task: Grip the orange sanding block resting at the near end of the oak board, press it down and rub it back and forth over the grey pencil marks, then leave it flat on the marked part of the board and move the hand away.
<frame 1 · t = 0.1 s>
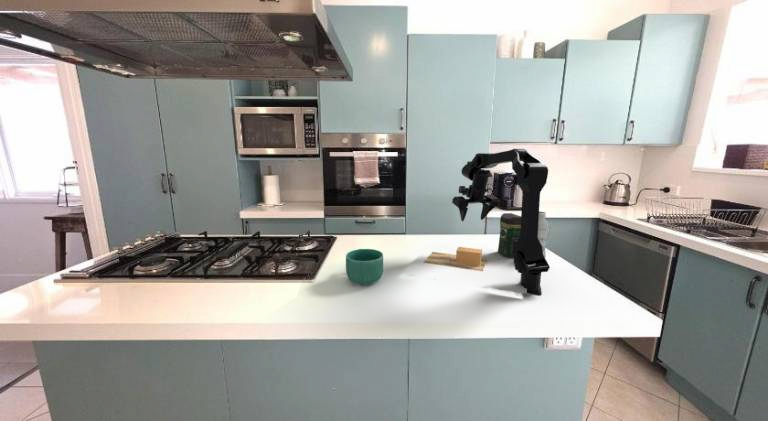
hand: (472, 220, 127), 15 cm above the countertop, tool pointing down, fingers open, 9 cm apart
coffee jar: (509, 258, 127), on the countertop
oak board: (455, 264, 119), on the countertop
plastic bottle: (535, 261, 123), on the countertop
mug: (364, 279, 105), on the countertop
sanding block: (468, 262, 117), point 1 cm above the countertop, touching oak board
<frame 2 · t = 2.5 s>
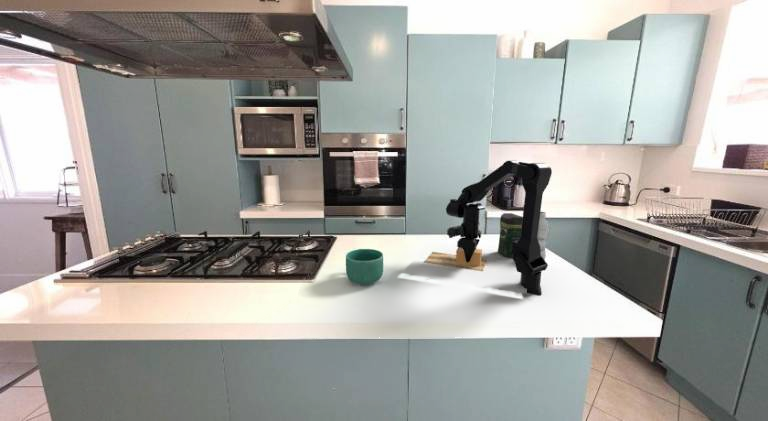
hand: (468, 259, 117), 3 cm above the countertop, tool pointing down, fingers closed on sanding block, 5 cm apart
sanding block: (468, 262, 117), point 1 cm above the countertop, touching gripper, oak board
everything else where it was.
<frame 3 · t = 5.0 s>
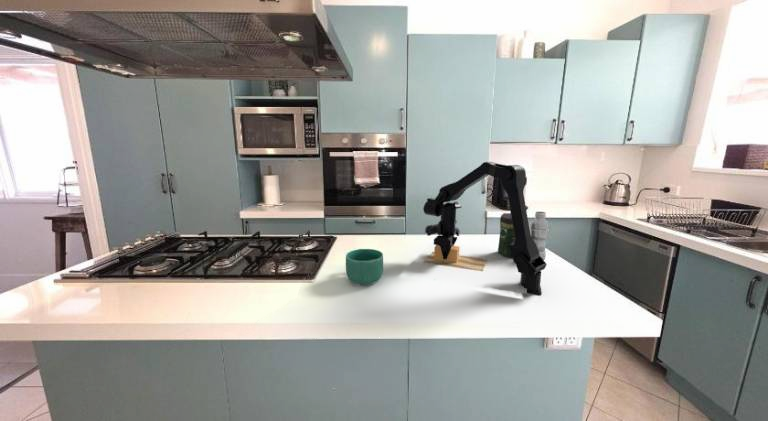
hand: (446, 257, 120), 2 cm above the countertop, tool pointing down, fingers closed on sanding block, 5 cm apart
sanding block: (446, 258, 120), point 2 cm above the countertop, touching gripper
everything else where it was.
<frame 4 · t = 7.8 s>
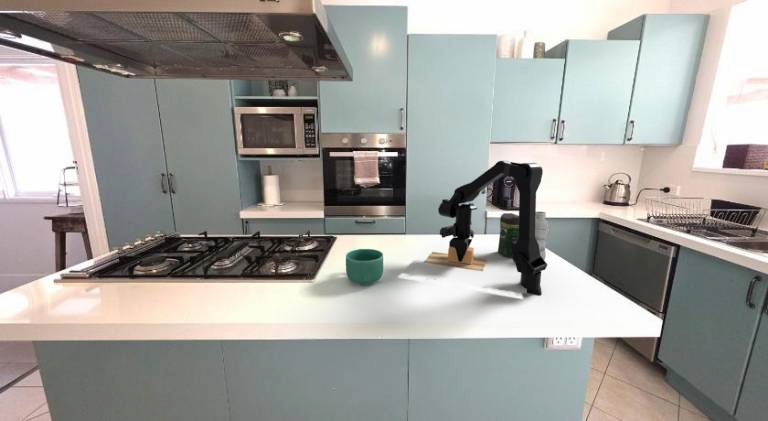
hand: (461, 259, 118), 2 cm above the countertop, tool pointing down, fingers closed on sanding block, 5 cm apart
sanding block: (460, 260, 118), point 2 cm above the countertop, touching gripper
everything else where it was.
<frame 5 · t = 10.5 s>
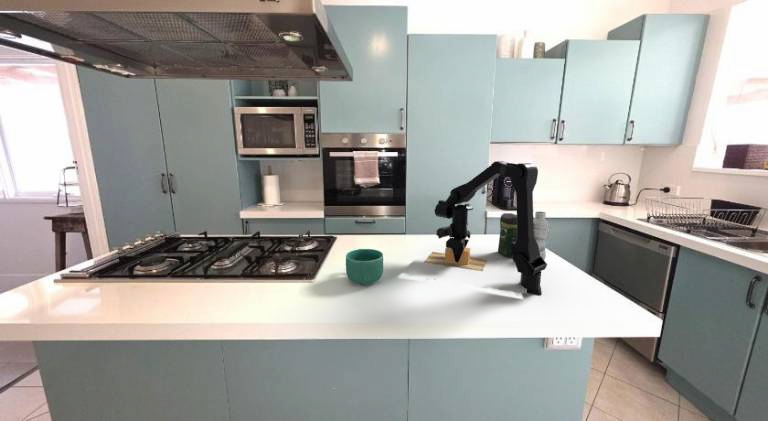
hand: (458, 260, 118), 2 cm above the countertop, tool pointing down, fingers closed on sanding block, 5 cm apart
sanding block: (457, 260, 118), point 2 cm above the countertop, touching gripper
everything else where it was.
when the fingers open (2 cm above the countertop, at t = 13.1 s): sanding block stays where it is, resting on oak board.
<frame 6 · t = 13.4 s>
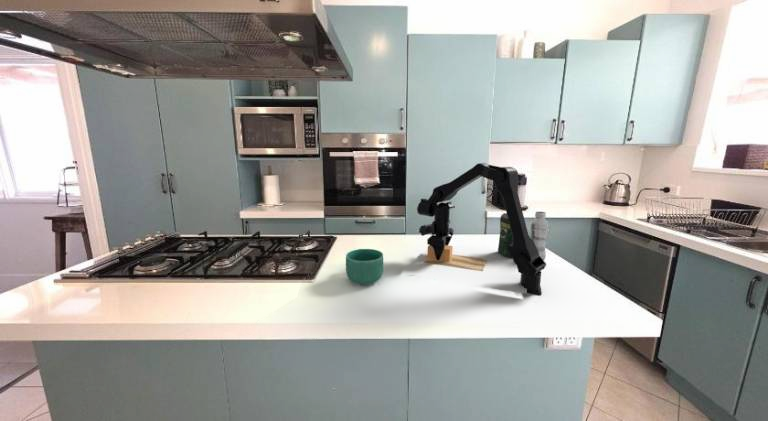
hand: (440, 256, 121), 2 cm above the countertop, tool pointing down, fingers open, 8 cm apart
sanding block: (439, 258, 121), point 2 cm above the countertop, touching oak board
everything else where it was.
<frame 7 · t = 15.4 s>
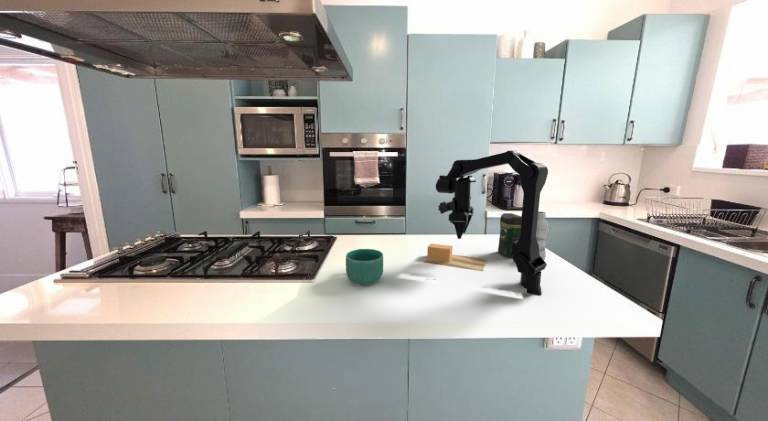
hand: (461, 235, 114), 12 cm above the countertop, tool pointing down, fingers open, 9 cm apart
nothing on the countertop moved.
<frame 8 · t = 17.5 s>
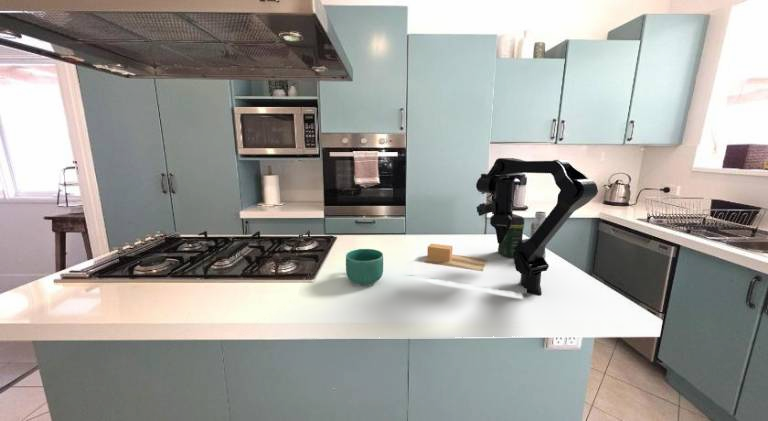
hand: (500, 240, 106), 13 cm above the countertop, tool pointing down, fingers open, 9 cm apart
nothing on the countertop moved.
at the end: sanding block inside the target area (0.3 cm from its centre), point 1.5 cm above the countertop; sanding block tilted 0°; the gripper is holding nothing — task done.
